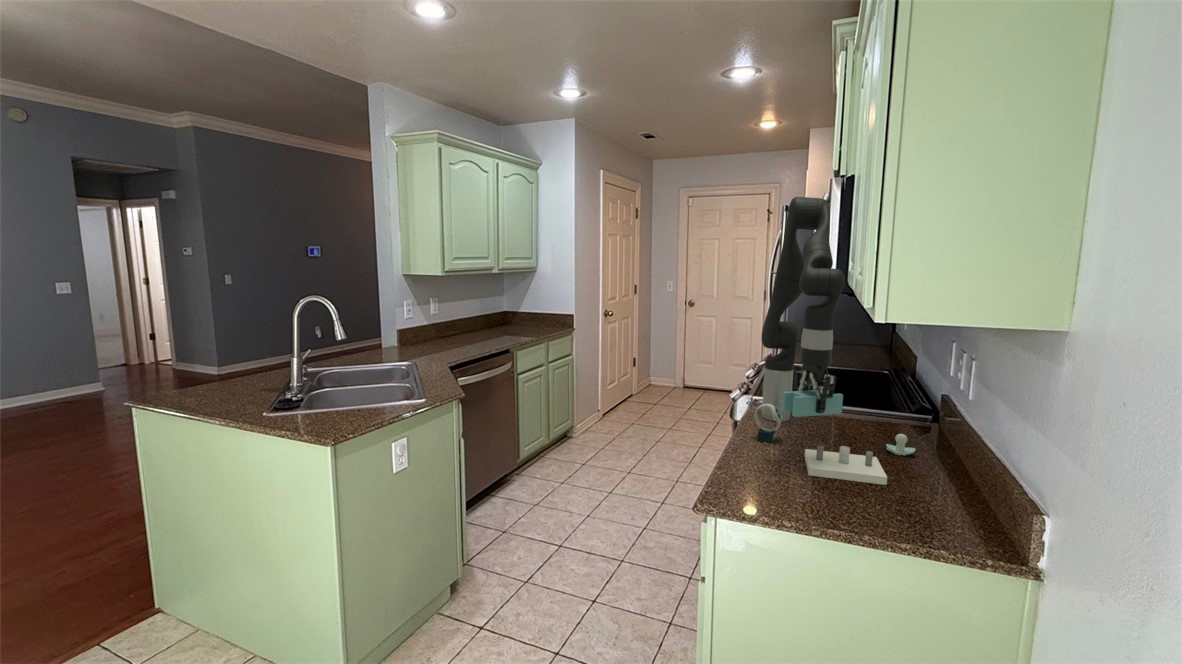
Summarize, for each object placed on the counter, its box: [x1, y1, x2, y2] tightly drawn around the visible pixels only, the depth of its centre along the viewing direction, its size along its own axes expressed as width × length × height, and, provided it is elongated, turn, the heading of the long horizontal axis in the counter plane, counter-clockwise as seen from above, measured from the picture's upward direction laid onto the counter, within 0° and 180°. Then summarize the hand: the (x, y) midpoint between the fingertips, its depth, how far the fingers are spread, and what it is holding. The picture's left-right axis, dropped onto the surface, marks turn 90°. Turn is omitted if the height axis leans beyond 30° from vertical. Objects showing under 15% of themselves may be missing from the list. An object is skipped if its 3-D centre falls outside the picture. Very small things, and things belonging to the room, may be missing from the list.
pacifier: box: [885, 433, 916, 457], centre depth 157 cm, size 7×6×6 cm
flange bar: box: [781, 389, 844, 418], centre depth 145 cm, size 14×6×5 cm, turn 106°
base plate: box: [804, 445, 888, 486], centre depth 145 cm, size 14×18×6 cm
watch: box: [753, 404, 782, 445], centre depth 166 cm, size 6×8×11 cm
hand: (811, 408), depth 145 cm, fingers closed on flange bar, 6 cm apart
